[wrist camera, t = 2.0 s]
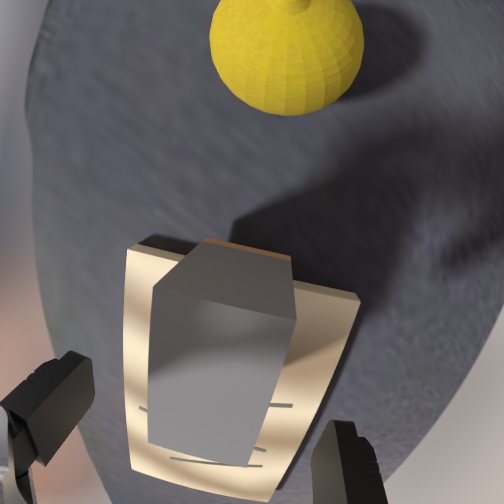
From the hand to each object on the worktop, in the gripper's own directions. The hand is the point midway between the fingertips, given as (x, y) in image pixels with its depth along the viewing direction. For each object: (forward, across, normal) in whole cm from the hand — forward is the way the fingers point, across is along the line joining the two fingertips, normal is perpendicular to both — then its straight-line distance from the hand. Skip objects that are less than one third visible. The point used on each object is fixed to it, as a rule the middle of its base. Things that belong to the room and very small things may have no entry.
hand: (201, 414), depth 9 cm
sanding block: (+7, 0, 0) cm, 7 cm away
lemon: (+8, 0, -12) cm, 15 cm away
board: (+8, 0, +8) cm, 11 cm away
